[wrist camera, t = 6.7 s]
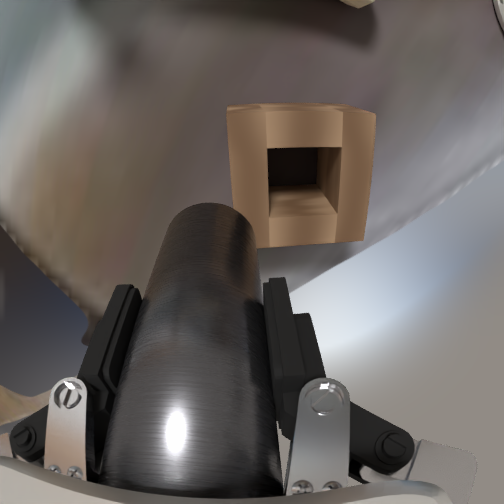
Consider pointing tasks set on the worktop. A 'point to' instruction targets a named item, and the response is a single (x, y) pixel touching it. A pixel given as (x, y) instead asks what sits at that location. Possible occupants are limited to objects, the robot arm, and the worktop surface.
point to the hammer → (357, 2)
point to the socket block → (302, 196)
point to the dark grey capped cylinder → (198, 371)
